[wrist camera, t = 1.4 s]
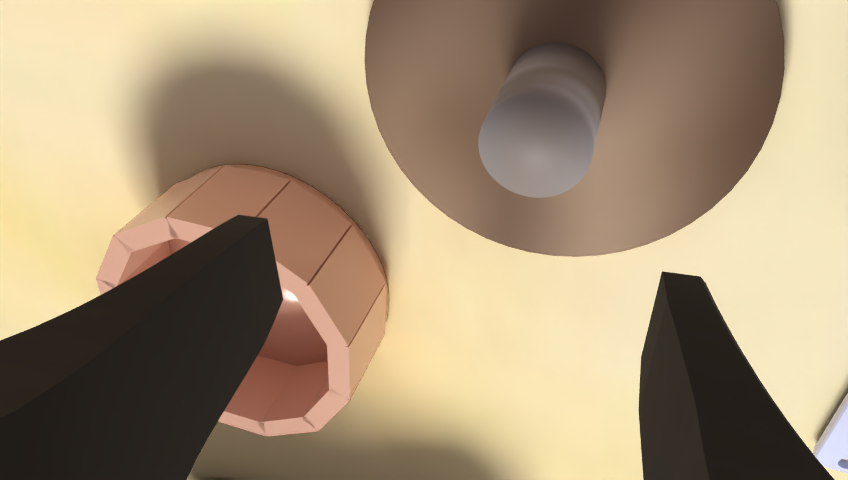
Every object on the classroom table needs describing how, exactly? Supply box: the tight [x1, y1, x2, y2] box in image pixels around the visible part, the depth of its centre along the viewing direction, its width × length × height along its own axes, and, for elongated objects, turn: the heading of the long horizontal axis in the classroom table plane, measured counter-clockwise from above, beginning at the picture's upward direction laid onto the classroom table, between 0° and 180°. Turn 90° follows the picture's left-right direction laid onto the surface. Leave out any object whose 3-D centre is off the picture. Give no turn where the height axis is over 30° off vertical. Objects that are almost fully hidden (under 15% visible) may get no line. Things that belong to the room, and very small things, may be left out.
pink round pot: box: [96, 164, 389, 437], centre depth 26 cm, size 10×10×4 cm
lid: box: [365, 0, 784, 257], centre depth 18 cm, size 12×12×4 cm
